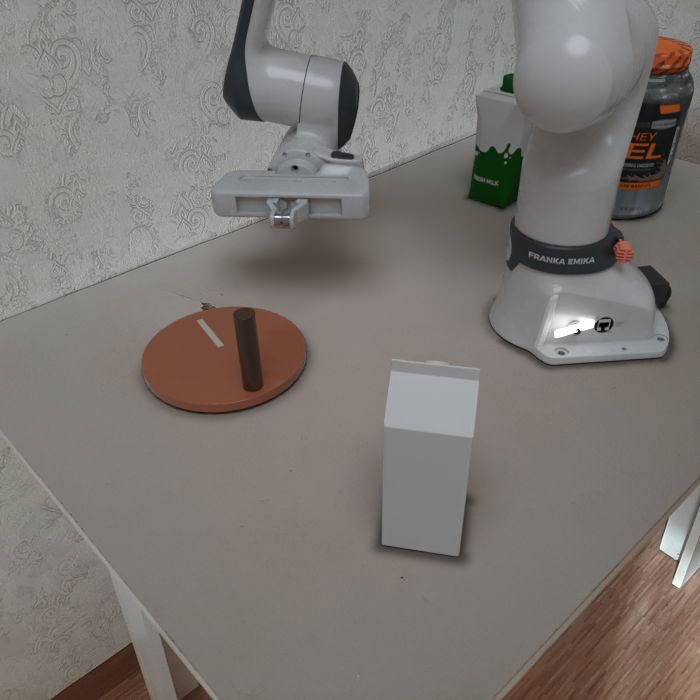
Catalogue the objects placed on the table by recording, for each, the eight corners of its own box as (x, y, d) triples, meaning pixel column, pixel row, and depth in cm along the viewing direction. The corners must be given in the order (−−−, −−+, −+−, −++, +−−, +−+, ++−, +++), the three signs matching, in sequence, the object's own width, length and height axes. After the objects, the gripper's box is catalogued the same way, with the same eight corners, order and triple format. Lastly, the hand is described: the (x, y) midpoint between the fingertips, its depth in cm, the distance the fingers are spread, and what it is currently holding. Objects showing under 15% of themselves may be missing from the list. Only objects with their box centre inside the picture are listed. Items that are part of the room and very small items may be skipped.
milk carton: (458, 558, 65) (478, 398, 53) (381, 546, 66) (384, 387, 55) (464, 499, 70) (483, 343, 59) (393, 489, 71) (397, 334, 60)
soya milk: (530, 194, 126) (547, 78, 115) (504, 212, 121) (519, 92, 109) (488, 181, 131) (499, 68, 119) (460, 198, 126) (470, 81, 114)
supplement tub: (555, 210, 121) (582, 49, 106) (580, 177, 132) (608, 27, 117) (652, 230, 115) (696, 63, 99) (670, 194, 126) (712, 37, 110)
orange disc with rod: (336, 373, 86) (333, 294, 79) (178, 436, 77) (160, 353, 71) (262, 298, 100) (254, 225, 93) (121, 345, 91) (101, 268, 84)
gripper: (222, 153, 96) (193, 196, 85) (374, 155, 94) (365, 200, 83) (228, 197, 99) (201, 244, 88) (374, 200, 97) (366, 248, 86)
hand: (281, 223), depth 85 cm, fingers closed
